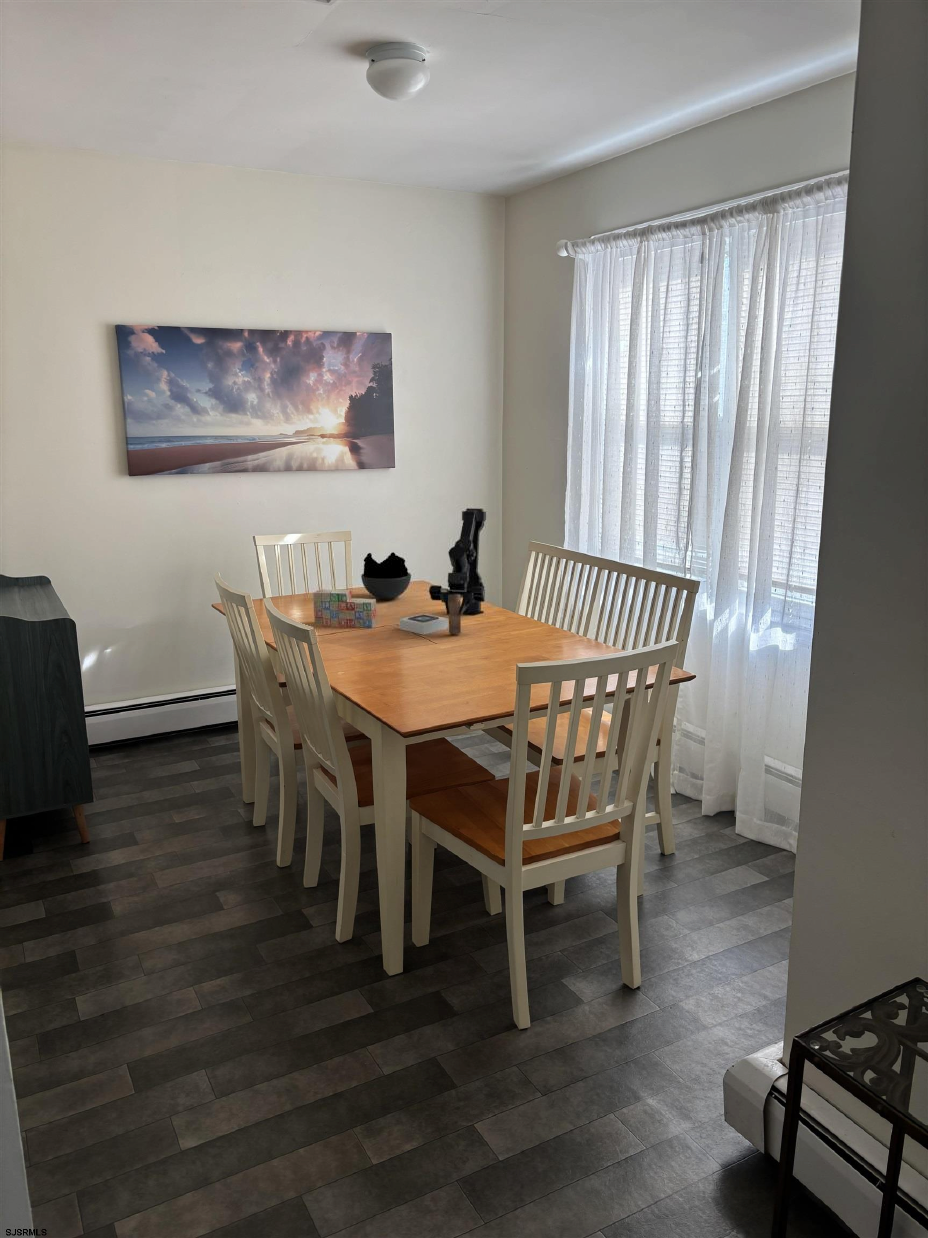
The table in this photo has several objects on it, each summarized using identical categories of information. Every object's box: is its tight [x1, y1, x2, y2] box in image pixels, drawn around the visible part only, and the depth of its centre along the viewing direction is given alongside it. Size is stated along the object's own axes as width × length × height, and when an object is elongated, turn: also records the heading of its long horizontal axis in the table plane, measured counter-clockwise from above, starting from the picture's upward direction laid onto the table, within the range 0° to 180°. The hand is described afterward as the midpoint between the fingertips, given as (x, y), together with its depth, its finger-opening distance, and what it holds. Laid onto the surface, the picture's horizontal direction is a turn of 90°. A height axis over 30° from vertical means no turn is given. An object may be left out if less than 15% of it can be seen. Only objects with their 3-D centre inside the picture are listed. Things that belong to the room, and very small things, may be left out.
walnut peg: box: [448, 594, 462, 635], centre depth 305 cm, size 4×4×13 cm
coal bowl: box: [360, 552, 412, 600], centre depth 363 cm, size 20×20×19 cm
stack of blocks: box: [312, 588, 377, 629], centre depth 320 cm, size 21×6×12 cm, turn 79°
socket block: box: [398, 613, 449, 635], centre depth 315 cm, size 12×12×4 cm
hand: (453, 614), depth 304 cm, fingers closed on walnut peg, 4 cm apart
